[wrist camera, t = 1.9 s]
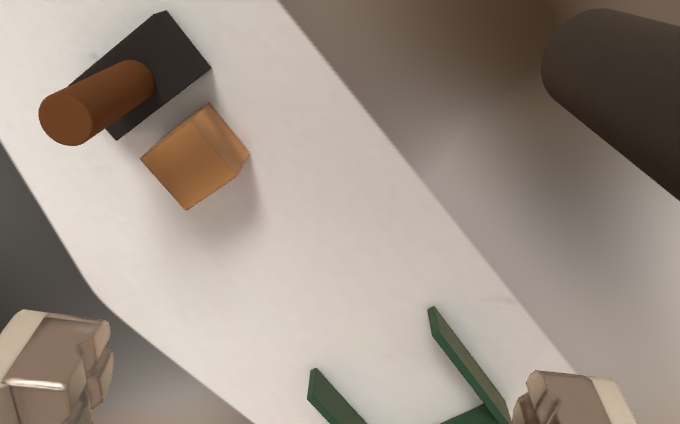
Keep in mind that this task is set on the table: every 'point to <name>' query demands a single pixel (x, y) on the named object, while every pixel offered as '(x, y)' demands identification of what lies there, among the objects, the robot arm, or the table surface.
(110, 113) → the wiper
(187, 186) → the cork block
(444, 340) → the frame
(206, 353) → the table surface
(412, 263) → the table surface
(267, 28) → the table surface
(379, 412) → the table surface
